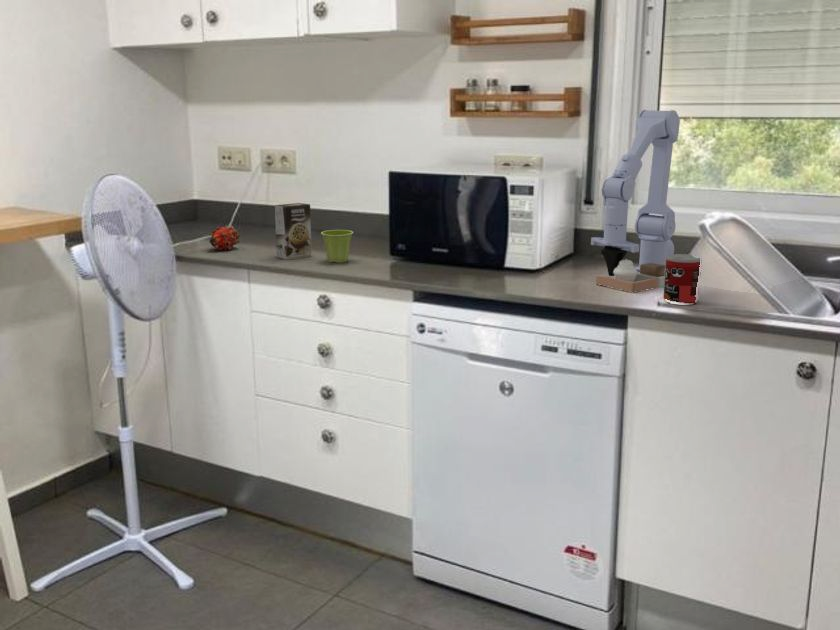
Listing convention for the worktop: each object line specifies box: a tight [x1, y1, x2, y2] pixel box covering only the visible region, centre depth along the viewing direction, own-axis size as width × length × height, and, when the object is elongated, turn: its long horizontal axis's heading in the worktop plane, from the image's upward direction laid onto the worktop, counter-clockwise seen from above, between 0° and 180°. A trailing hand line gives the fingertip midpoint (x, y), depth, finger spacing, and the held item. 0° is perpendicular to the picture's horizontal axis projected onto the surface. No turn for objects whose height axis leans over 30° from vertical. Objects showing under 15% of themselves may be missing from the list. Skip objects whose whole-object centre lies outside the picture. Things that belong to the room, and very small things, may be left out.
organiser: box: [595, 272, 665, 293], centre depth 223 cm, size 20×12×2 cm, turn 127°
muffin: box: [613, 258, 639, 282], centre depth 220 cm, size 6×6×7 cm
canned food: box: [663, 253, 700, 303], centre depth 202 cm, size 8×8×11 cm
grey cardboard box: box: [274, 202, 313, 261], centre depth 258 cm, size 9×6×16 cm
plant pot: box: [320, 229, 354, 264], centre depth 253 cm, size 9×9×9 cm
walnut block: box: [639, 263, 665, 277], centre depth 225 cm, size 4×4×4 cm
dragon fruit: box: [209, 224, 240, 252], centre depth 271 cm, size 8×8×12 cm
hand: (612, 275), depth 224 cm, fingers closed
